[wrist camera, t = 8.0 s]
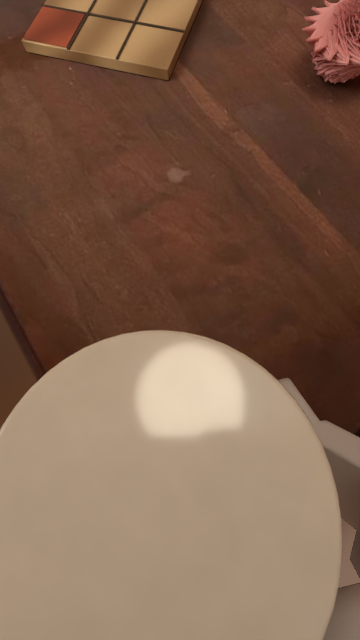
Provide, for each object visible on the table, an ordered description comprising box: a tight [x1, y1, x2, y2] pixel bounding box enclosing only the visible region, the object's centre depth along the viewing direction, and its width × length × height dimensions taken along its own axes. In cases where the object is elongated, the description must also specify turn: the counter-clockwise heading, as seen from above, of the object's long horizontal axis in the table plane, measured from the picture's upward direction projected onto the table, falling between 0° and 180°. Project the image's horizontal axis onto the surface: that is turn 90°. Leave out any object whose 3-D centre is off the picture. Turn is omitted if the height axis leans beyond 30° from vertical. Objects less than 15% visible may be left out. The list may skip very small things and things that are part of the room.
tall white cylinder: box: [0, 330, 342, 640], centre depth 9 cm, size 4×4×12 cm
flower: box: [302, 0, 360, 84], centre depth 25 cm, size 8×8×6 cm
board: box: [22, 0, 203, 80], centre depth 30 cm, size 15×15×1 cm
